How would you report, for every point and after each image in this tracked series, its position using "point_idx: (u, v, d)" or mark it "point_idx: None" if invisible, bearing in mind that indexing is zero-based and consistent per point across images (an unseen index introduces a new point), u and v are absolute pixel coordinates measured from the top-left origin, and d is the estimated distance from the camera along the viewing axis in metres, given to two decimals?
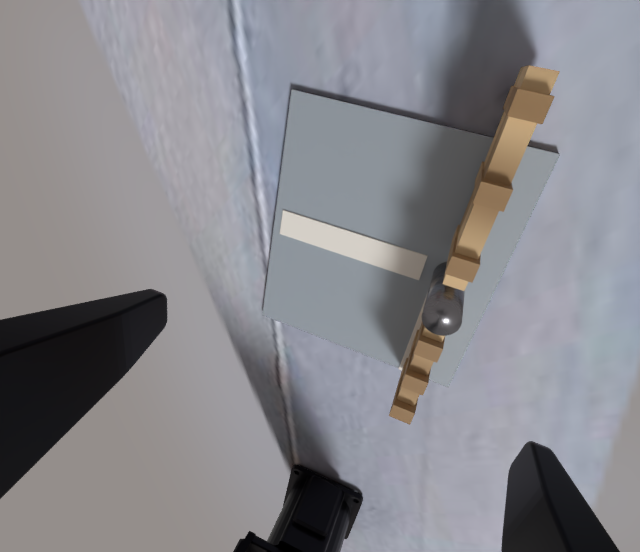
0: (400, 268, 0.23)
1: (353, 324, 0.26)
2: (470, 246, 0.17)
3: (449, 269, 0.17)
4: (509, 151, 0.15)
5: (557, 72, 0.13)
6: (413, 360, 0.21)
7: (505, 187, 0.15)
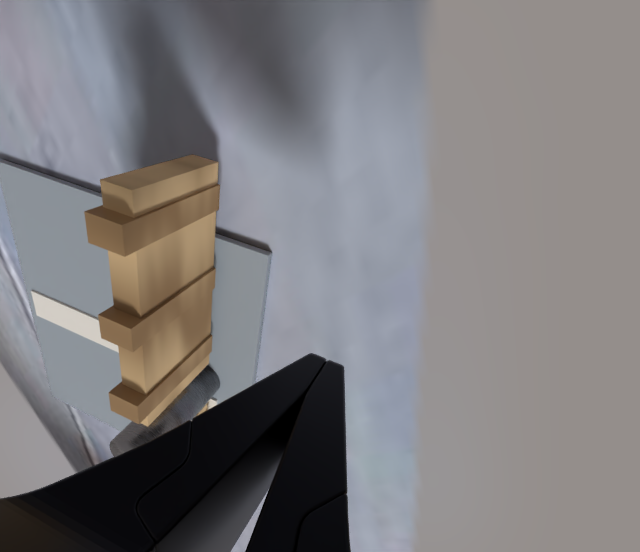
0: None
1: None
2: (133, 379, 0.13)
3: (112, 406, 0.14)
4: (123, 279, 0.11)
5: (131, 190, 0.10)
6: None
7: (125, 323, 0.12)
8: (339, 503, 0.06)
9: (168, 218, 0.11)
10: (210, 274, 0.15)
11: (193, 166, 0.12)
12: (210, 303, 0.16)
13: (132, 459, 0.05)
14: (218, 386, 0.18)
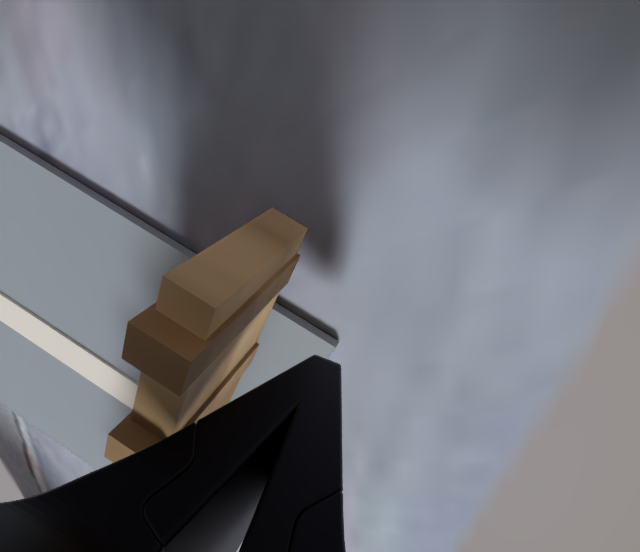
0: None
1: (97, 447, 0.19)
2: None
3: None
4: (158, 397, 0.08)
5: (213, 307, 0.06)
6: None
7: None
8: (334, 501, 0.06)
9: (240, 321, 0.08)
10: (252, 353, 0.11)
11: (281, 238, 0.08)
12: (239, 378, 0.12)
13: (138, 462, 0.05)
14: None
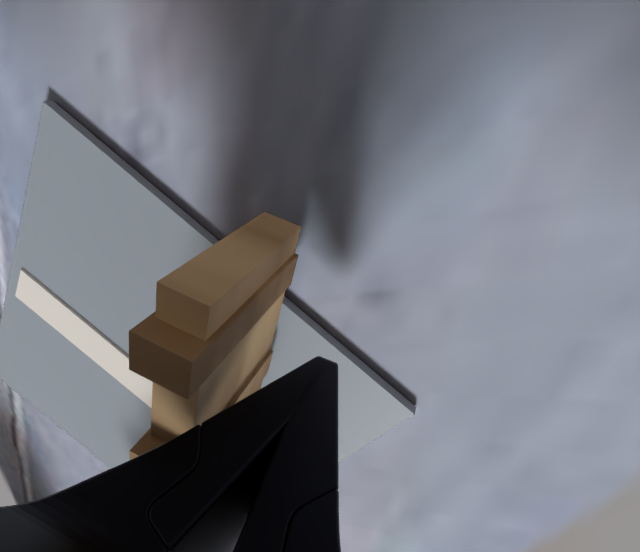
0: None
1: (106, 440, 0.18)
2: None
3: None
4: (172, 407, 0.08)
5: (207, 306, 0.06)
6: None
7: None
8: (330, 499, 0.06)
9: (243, 322, 0.08)
10: (267, 360, 0.11)
11: (274, 238, 0.09)
12: (259, 388, 0.12)
13: (143, 464, 0.05)
14: None
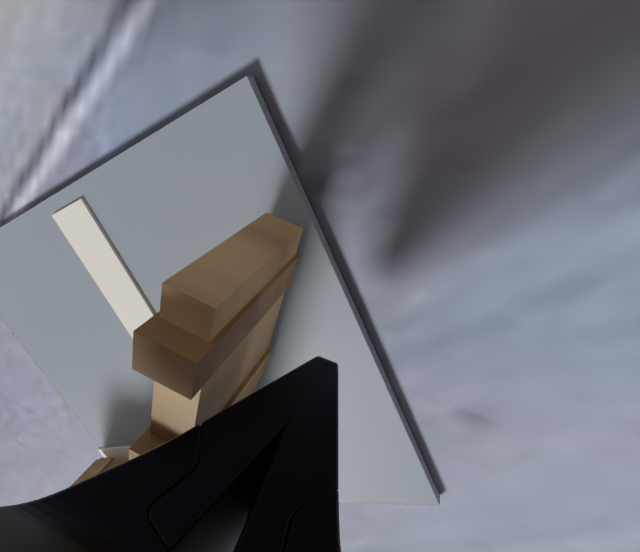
0: None
1: (79, 380, 0.17)
2: None
3: None
4: (173, 406, 0.08)
5: (213, 308, 0.06)
6: None
7: None
8: (330, 498, 0.06)
9: (245, 323, 0.08)
10: (265, 359, 0.11)
11: (276, 240, 0.09)
12: (256, 387, 0.12)
13: (143, 464, 0.05)
14: None
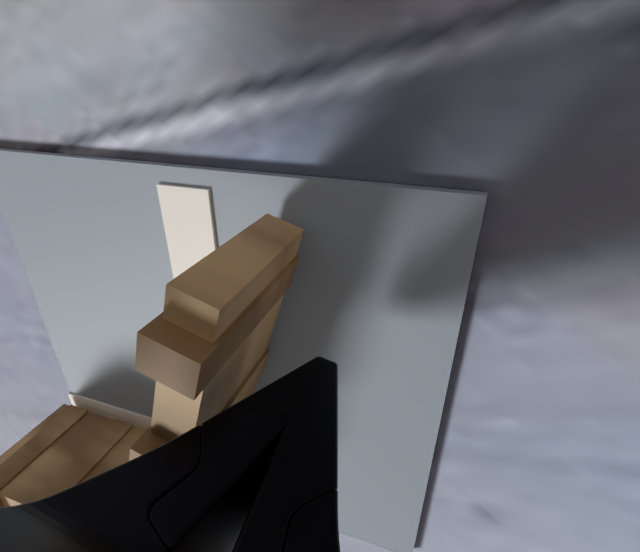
0: None
1: (84, 331, 0.15)
2: None
3: None
4: (175, 406, 0.08)
5: (217, 309, 0.06)
6: None
7: None
8: (329, 498, 0.06)
9: (247, 324, 0.08)
10: (264, 359, 0.11)
11: (278, 241, 0.09)
12: (254, 386, 0.12)
13: (143, 465, 0.05)
14: None
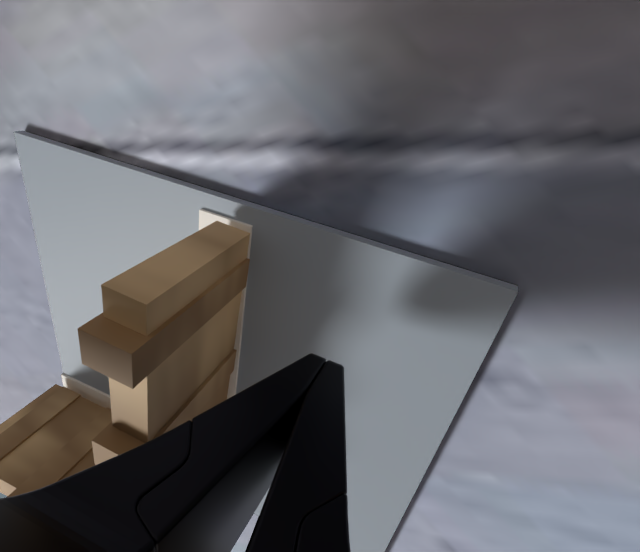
0: None
1: None
2: None
3: None
4: (127, 399, 0.09)
5: (145, 304, 0.07)
6: None
7: None
8: (339, 503, 0.06)
9: (189, 320, 0.09)
10: (230, 359, 0.12)
11: (221, 244, 0.09)
12: (227, 387, 0.13)
13: (132, 459, 0.05)
14: None
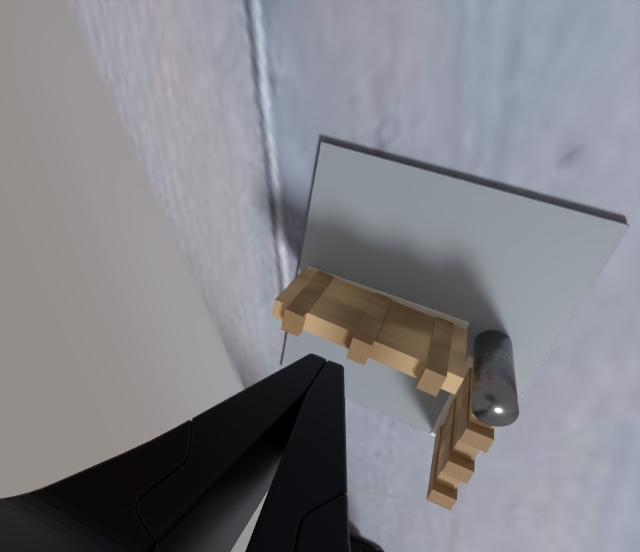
0: None
1: (381, 386, 0.24)
2: (411, 366, 0.17)
3: (430, 392, 0.17)
4: (327, 331, 0.18)
5: (276, 300, 0.19)
6: (457, 445, 0.18)
7: (352, 341, 0.18)
8: (339, 503, 0.06)
9: (307, 294, 0.19)
10: (376, 296, 0.21)
11: (297, 278, 0.21)
12: (404, 306, 0.21)
13: (132, 459, 0.05)
14: None
